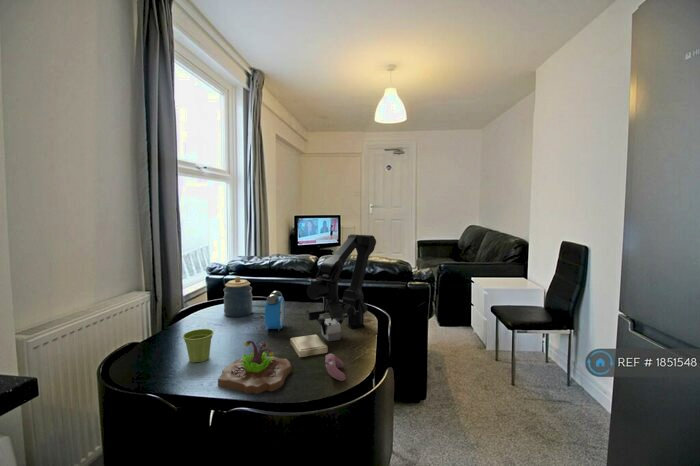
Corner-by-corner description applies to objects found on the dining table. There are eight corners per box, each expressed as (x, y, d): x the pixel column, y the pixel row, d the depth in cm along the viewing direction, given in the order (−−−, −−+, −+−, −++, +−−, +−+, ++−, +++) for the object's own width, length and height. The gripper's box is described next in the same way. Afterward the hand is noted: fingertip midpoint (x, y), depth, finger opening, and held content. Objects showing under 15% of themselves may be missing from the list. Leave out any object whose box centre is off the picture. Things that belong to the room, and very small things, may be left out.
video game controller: (331, 371, 112) (321, 352, 111) (344, 364, 112) (334, 346, 112) (333, 387, 102) (322, 367, 102) (347, 380, 103) (336, 359, 102)
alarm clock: (279, 333, 141) (279, 296, 139) (264, 334, 141) (263, 296, 139) (285, 322, 154) (284, 288, 153) (271, 323, 154) (270, 288, 152)
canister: (258, 312, 169) (257, 275, 168) (236, 319, 158) (235, 280, 157) (240, 307, 176) (239, 272, 175) (217, 314, 165) (216, 277, 164)
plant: (240, 360, 118) (239, 327, 117) (297, 364, 115) (297, 330, 114) (207, 391, 98) (206, 352, 97) (275, 397, 95) (274, 356, 94)
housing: (333, 332, 142) (333, 316, 142) (340, 339, 135) (340, 322, 134) (321, 334, 140) (321, 318, 140) (328, 341, 133) (328, 324, 132)
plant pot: (195, 368, 111) (194, 341, 110) (177, 361, 116) (176, 335, 115) (220, 357, 119) (219, 332, 118) (202, 351, 124) (201, 327, 123)
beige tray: (316, 339, 135) (316, 333, 135) (327, 352, 123) (327, 346, 123) (290, 343, 131) (290, 337, 131) (299, 357, 119) (299, 350, 119)
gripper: (313, 301, 125) (313, 344, 126) (361, 296, 132) (361, 337, 134) (304, 294, 135) (305, 334, 137) (349, 290, 143) (349, 328, 144)
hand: (330, 333), depth 137 cm, fingers closed on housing, 5 cm apart
